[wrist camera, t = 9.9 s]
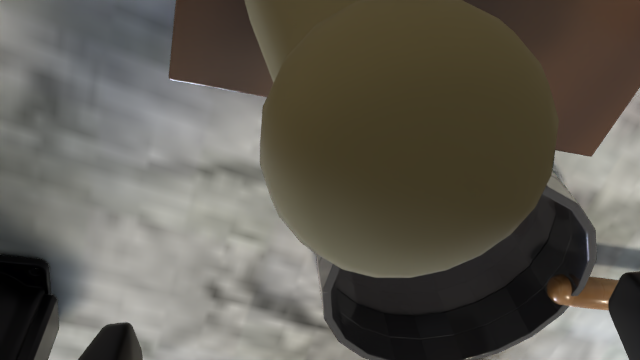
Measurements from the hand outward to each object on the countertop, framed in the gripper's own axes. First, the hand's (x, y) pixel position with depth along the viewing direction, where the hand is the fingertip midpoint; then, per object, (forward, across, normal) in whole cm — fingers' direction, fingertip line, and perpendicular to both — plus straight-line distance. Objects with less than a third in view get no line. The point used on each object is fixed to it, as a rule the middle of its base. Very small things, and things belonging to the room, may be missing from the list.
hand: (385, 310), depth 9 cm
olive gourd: (+11, -1, -2) cm, 12 cm away
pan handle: (+11, -16, +14) cm, 23 cm away
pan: (+13, -6, +11) cm, 18 cm away
